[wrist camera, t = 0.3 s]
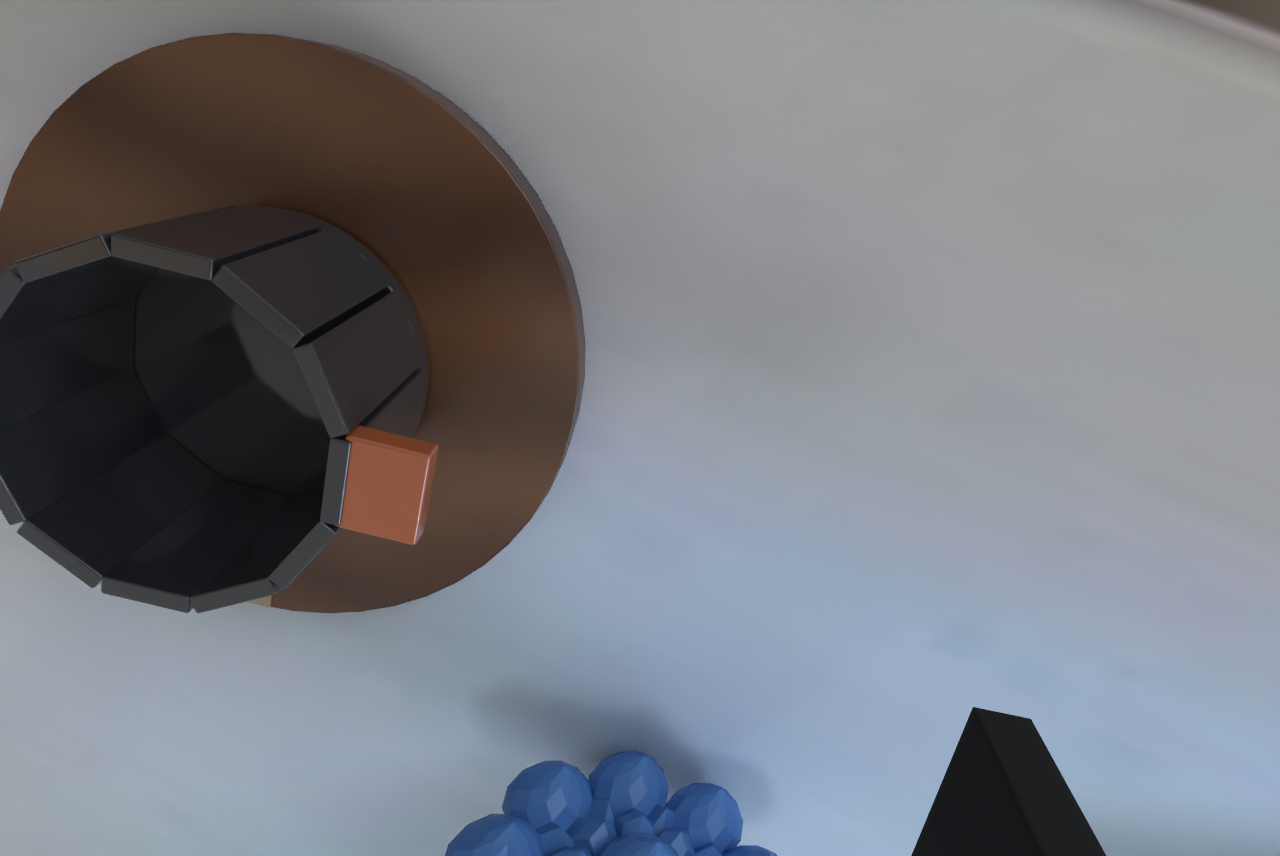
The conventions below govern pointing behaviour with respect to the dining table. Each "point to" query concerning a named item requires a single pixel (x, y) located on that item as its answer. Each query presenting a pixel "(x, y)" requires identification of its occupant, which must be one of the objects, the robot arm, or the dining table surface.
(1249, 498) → the dining table surface
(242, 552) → the cooking pot
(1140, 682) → the dining table surface
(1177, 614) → the dining table surface
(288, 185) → the turntable
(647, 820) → the grapes
